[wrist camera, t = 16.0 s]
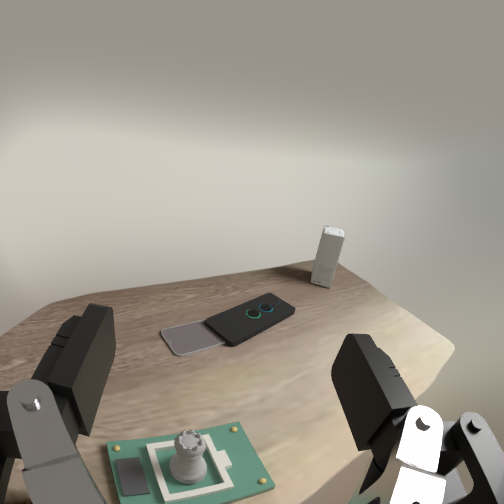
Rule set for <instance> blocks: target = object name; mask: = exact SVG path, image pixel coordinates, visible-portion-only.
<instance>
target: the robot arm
mask: <svg viewBox="0 0 504 504" xmlns="http://www.w3.org/2000/svg"><path fill="white" fill-rule="evenodd" d="M115 350H116V340H115V330H114V317H113V309H112V307H108V306H103V305H97V304H92V303H90V304H89V305H88V307H87V308H86V310H85V312H84V313H83V315H82V317H79V316H75V315H74V316H73V317H71V318H70V319H68V320H67V321H66V322H64V323H63V324H62V326H61V327H60V329H59V331H58V332H57V334H56V336H55V337H54V339H53V341H52V342H51V345H50V346H49V347H48V349H47V351H46V353H45V354H44V356H43V358H42V360H41V361H40V363H39V365H38V367H37V369H36V370H35V372H34V374H33V376H32V378H31V379H28V380H23V381H20V382H18V383H17V384H15V385H14V386H13V387H12V388H11V389H10V391H0V504H4V500H5V495H6V491H7V487H8V483H9V479H10V475H11V471H12V467H13V464H14V460H15V458H18V459H22V460H23V463H24V467H25V469H23V470H22V475H23V479H24V482H25V485H26V488H27V490H28V493H29V495H30V498H31V500H32V502H33V504H108V503H107V502H106V500H105V499H104V497H103V496H102V494H101V492H100V491H99V489H98V487H97V485H96V484H95V482H94V480H93V478H92V476H91V475H90V473H89V471H88V469H87V467H86V465H85V463H84V461H83V459H82V457H81V455H80V453H79V451H78V449H77V447H76V445H75V444H76V441H77V437H78V434H82V435H85V436H90V433H91V429H92V426H93V422H94V419H95V415H96V412H97V409H98V406H99V403H100V399H101V396H102V393H103V390H104V387H105V384H106V381H107V378H108V375H109V372H110V369H111V366H112V363H113V361H114V357H115ZM331 377H332V382H333V384H334V387H335V389H336V392H337V395H338V397H339V400H340V403H341V405H342V408H343V411H344V413H345V416H346V419H347V421H348V424H349V427H350V429H351V432H352V435H353V438H354V440H355V443H356V446H357V449H358V451H363V450H369V449H371V451H372V453H373V454H372V455H371V456H370V457H369V459H368V461H367V464H366V467H365V469H364V471H363V474H362V476H361V478H360V481H359V483H358V485H357V487H356V490H355V492H354V494H353V496H352V498H351V500H350V501H349V503H348V504H504V453H503V451H502V449H501V448H500V446H499V444H498V442H497V440H496V438H495V437H494V435H493V433H492V431H491V429H490V428H489V426H488V425H487V423H486V421H485V420H484V419H483V418H482V417H481V416H480V415H479V414H477V413H474V412H465V413H464V414H463V415H462V416H461V417H460V418H459V419H458V420H457V422H452V421H442V420H441V419H440V417H439V416H438V414H437V413H436V412H434V411H433V410H432V409H430V408H428V407H425V406H418V405H417V403H416V401H415V399H414V398H413V396H412V394H411V392H410V391H409V389H408V387H407V386H406V384H405V382H404V380H403V379H402V377H400V374H399V372H398V370H397V369H395V365H394V364H393V362H392V360H391V359H390V357H389V356H388V355H387V354H386V353H385V352H383V351H382V350H381V349H380V348H377V346H376V344H375V343H374V341H373V339H372V338H371V336H370V335H368V334H348V335H347V336H346V337H345V339H344V341H343V344H342V346H341V348H340V350H339V352H338V354H337V357H336V359H335V361H334V363H333V366H332V370H331ZM463 460H464V461H465V464H466V466H467V468H468V470H469V472H470V474H471V477H472V479H473V481H474V487H473V490H472V491H471V493H470V494H469V495H467V494H466V492H465V489H464V487H463V484H462V482H461V480H460V477H459V475H458V473H457V470H456V468H455V467H457V466H458V465H459V464H460V463H461V462H462V461H463Z"/></svg>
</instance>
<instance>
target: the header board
mask: <svg viewBox="0 0 504 504" xmlns="http://www.w3.org/2000/svg"><path fill="white" fill-rule="evenodd" d="M194 432H196V433H198V432H199V433H200V434H201V435H202V437H203V438H204V439H205V442H206V449H205V451H204V453H203V455H202V457H203V458H204V460H205V462H206V464H207V474H206V476H205V477H204V479H203V480H201V481H200V482H198V483H195V484H185V483H181V482H179V481H177V480H176V479H175V478H174V477H173V476H172V475H171V473H170V470H169V465H170V459H171V458H172V457H173V455H174V454H176V453H177V451H176V448H175V445H174V440H175V438H176V437H177V435H178V434H173V435H166V436H159V437H151V438H143V439H134V440H123V441H110V442H106V443H107V448H108V453H109V458H110V463H111V467H112V471H113V476H114V480H115V484H116V488H117V492H118V495H119V499H120V503H121V504H228V503H232V502H235V501H239V500H242V499H245V498H249V497H252V496H255V495H258V494H261V493H264V492H266V491H269V490H272V489H274V487H275V486H276V485H275V484H274V482H273V480H272V479H271V477H270V476H269V474H268V472H267V471H266V469H265V467H264V465H263V464H262V462H261V460H260V459H259V457H258V455H257V453H256V452H255V450H254V448H253V446H252V445H251V443H250V441H249V439H248V437H247V436H246V434H245V432H244V430H243V428H242V427H241V425H240V423H239V422H235V423H230V424H226V425H221V426H217V427H212V428H207V429H202V430H197V431H194ZM179 434H180V433H179Z"/></svg>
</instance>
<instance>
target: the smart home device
mask: <svg viewBox="0 0 504 504" xmlns="http://www.w3.org/2000/svg"><path fill="white" fill-rule="evenodd" d="M294 312H295V307H293V306H291V305H290V304H288V303H286V302H285V301H283V300H281V299H280V298H278V297H277V296H275V295H273V294H272V293H267V294H264V295H262V296H260V297H257V298H255V299H253V300H250V301H248V302H246V303H243V304H241V305H238V306H236V307H234V308H231V309H229V310H226V311H224V312H222V313H219V314H217V315H214V316H212V317H209V318H207V319H206V320H205V323H204V325H205V326H207V327H208V328H209V329H210V330H212V331H213V332H214V333H215V334H216V335H218V336H219V337H220V338H221V339H222V340H224V341H225V342H226V344H227V345H228V346H229V347H234V346H237V345H239V344H241V343H242V342H244V341H246V340H248V339H250V338H252V337H254V336H255V335H257V334H259V333H261V332H263V331H265V330H266V329H268V328H270V327H272V326H274V325H275V324H277V323H279V322H281V321H283V320H284V319H286V318H288V317H290V316H291V315H293V314H294Z"/></svg>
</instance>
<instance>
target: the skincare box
mask: <svg viewBox="0 0 504 504" xmlns="http://www.w3.org/2000/svg"><path fill="white" fill-rule="evenodd" d="M344 238H345V236H344V231H343V230H341V229H338V228H334V227H330V226H324V229H323V233H322V236H321V240H320V243H319V247H318V251H317V254H316V258H315V262H314V265H313V269H312V274H311V283H313V284H317V285H320V286H323V287H327V288H330V287H331V284H332V280H333V277H334V273H335V270H336V267H337V263H338V260H339V256H340V253H341V249H342V245H343V242H344Z"/></svg>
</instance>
